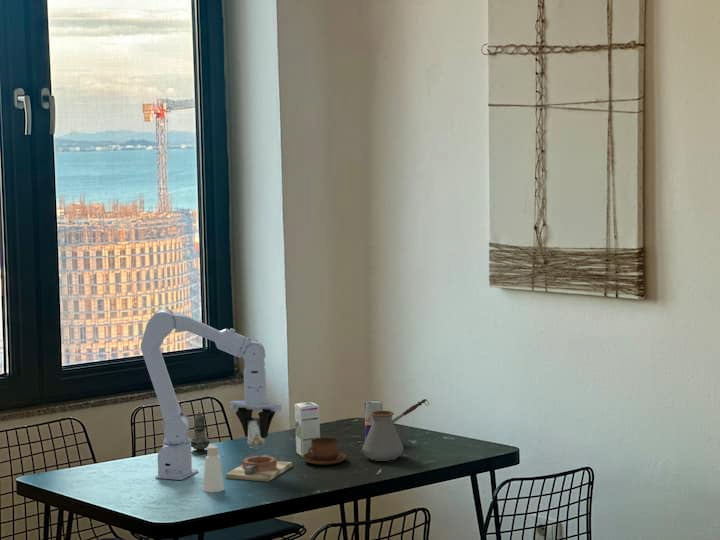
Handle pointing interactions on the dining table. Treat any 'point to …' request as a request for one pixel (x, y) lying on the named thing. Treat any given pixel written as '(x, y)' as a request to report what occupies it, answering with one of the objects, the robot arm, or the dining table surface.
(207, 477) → the white squeeze bottle
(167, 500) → the dining table surface
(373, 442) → the coffee pot
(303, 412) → the syrup box
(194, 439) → the grey flanged cylinder
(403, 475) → the dining table surface
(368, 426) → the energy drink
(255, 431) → the cylinder
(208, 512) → the dining table surface
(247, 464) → the coupling stand
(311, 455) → the cup and saucer
